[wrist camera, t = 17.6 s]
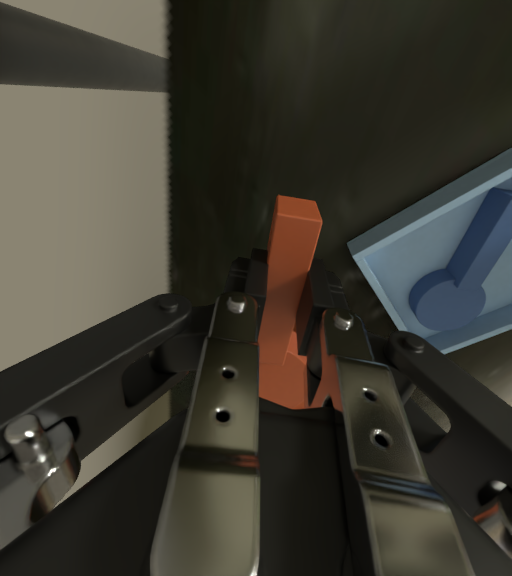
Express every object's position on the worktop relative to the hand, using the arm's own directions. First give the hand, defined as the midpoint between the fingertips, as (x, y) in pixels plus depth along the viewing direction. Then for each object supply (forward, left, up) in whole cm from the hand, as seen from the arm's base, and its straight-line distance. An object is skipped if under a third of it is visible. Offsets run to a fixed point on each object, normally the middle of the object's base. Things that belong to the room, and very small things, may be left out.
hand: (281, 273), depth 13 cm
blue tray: (+13, +8, -12) cm, 19 cm away
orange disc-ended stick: (+2, -2, -1) cm, 3 cm away
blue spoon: (+12, +9, -11) cm, 19 cm away
